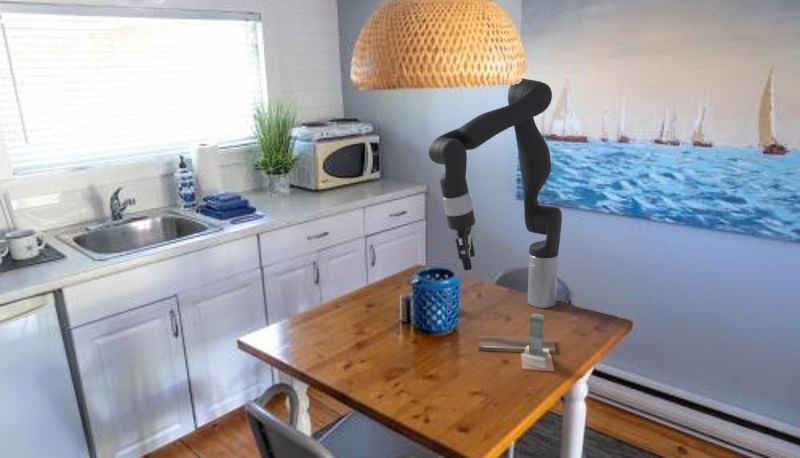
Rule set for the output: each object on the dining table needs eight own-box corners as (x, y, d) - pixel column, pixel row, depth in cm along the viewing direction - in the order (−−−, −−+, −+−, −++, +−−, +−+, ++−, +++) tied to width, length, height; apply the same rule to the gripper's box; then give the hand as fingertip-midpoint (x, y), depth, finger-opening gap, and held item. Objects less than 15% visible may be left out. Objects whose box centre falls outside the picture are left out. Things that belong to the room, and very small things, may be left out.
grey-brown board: (479, 338, 167) (479, 335, 166) (552, 341, 164) (552, 338, 163) (479, 350, 160) (479, 347, 160) (555, 353, 157) (555, 350, 157)
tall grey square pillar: (526, 353, 156) (528, 310, 153) (548, 357, 154) (550, 313, 150) (521, 363, 151) (523, 319, 148) (544, 368, 149) (546, 323, 145)
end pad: (520, 354, 157) (520, 353, 157) (550, 355, 156) (550, 354, 156) (522, 369, 149) (522, 368, 149) (553, 371, 148) (554, 369, 148)
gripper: (469, 217, 147) (480, 272, 152) (475, 198, 160) (485, 250, 165) (441, 221, 149) (453, 275, 155) (449, 202, 162) (459, 253, 167)
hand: (469, 262), depth 160 cm, fingers open, 8 cm apart
